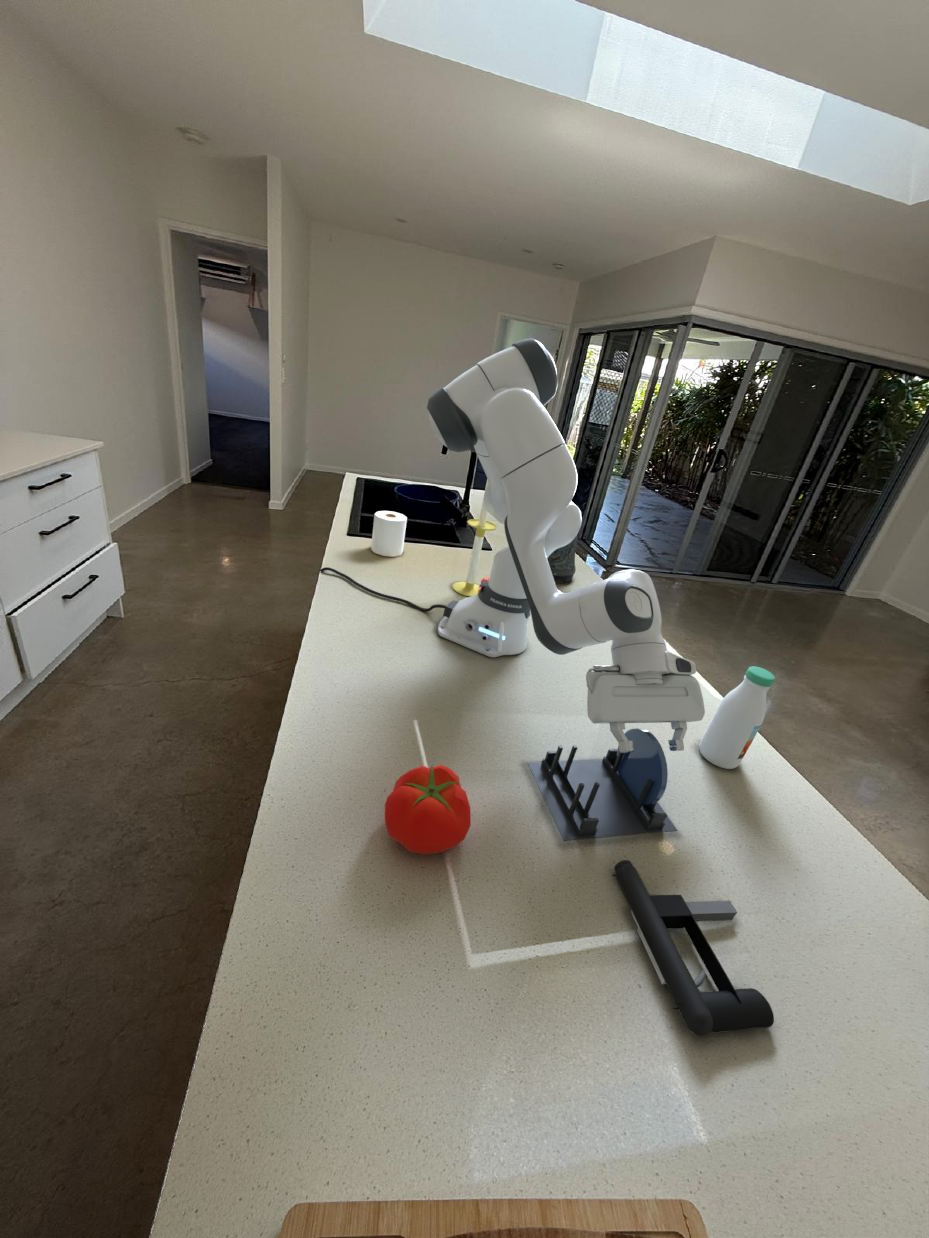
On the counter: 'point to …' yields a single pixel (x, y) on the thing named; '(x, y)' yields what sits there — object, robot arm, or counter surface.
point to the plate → (644, 766)
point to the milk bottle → (737, 720)
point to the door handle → (695, 1007)
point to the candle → (475, 553)
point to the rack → (594, 798)
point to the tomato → (428, 810)
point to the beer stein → (563, 562)
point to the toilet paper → (388, 533)
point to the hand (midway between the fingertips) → (652, 751)
